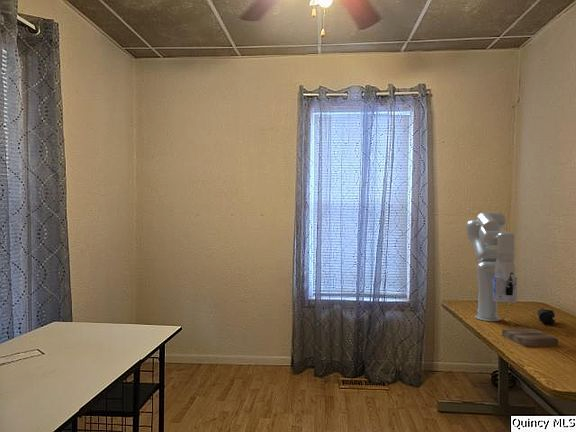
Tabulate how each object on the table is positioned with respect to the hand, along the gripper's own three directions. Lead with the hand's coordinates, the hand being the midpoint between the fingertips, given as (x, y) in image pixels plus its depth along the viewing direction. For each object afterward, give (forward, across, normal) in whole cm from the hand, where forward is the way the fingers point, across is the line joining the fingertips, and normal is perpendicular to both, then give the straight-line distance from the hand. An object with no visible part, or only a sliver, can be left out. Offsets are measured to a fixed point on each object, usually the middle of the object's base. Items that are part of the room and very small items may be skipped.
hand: (504, 293), depth 208 cm
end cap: (+20, -14, +33) cm, 41 cm away
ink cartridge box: (+4, 0, 0) cm, 4 cm away
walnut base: (+19, +15, +3) cm, 24 cm away
